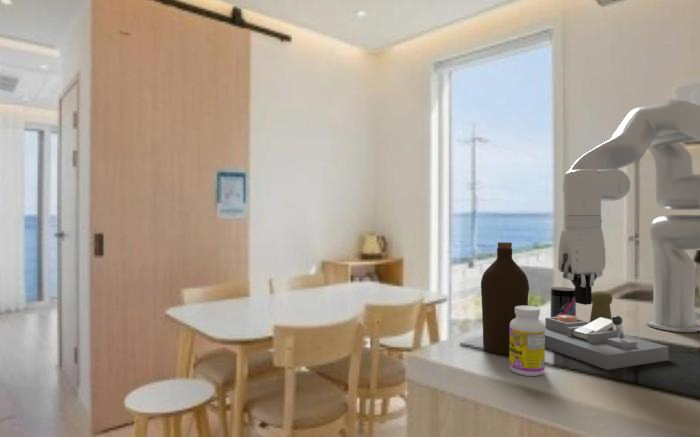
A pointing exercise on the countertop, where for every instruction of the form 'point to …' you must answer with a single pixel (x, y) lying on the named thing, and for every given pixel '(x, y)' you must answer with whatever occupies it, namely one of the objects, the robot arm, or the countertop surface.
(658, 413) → the countertop surface
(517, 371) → the supplement bottle
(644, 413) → the countertop surface
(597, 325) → the rocker
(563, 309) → the supplement container
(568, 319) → the button
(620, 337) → the toggle lever
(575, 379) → the countertop surface
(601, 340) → the panel
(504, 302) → the olive oil
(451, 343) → the countertop surface
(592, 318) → the cork
